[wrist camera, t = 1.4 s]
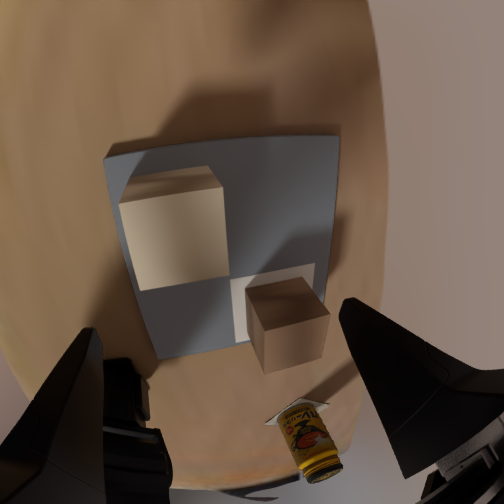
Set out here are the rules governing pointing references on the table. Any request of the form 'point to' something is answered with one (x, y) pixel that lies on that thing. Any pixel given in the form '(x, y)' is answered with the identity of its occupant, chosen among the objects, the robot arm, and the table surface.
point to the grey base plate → (239, 231)
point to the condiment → (309, 440)
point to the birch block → (175, 227)
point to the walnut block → (285, 323)
